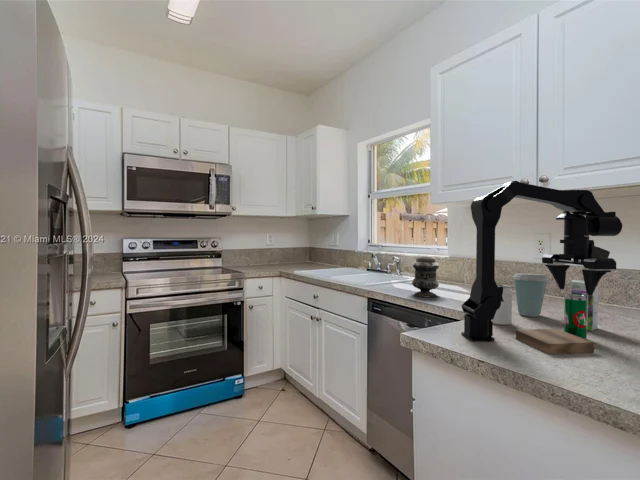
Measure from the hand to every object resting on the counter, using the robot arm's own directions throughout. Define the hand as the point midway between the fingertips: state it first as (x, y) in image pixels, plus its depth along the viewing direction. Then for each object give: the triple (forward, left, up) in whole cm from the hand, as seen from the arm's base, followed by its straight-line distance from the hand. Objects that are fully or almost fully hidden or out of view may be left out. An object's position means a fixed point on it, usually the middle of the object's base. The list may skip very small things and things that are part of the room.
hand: (575, 291), depth 95 cm
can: (-11, +17, -13) cm, 24 cm away
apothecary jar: (-16, +66, -13) cm, 69 cm away
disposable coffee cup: (+6, +26, -13) cm, 30 cm away
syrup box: (+11, +9, -13) cm, 19 cm away
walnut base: (-11, -5, -13) cm, 18 cm away
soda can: (0, 0, -13) cm, 13 cm away
